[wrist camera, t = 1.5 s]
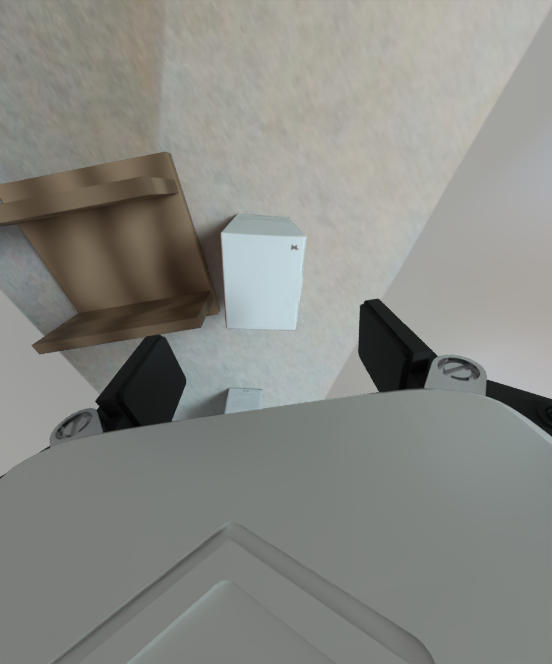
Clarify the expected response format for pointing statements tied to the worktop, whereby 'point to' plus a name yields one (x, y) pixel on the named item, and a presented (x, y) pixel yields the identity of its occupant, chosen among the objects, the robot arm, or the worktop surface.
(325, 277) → the worktop surface
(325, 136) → the worktop surface
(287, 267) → the small box
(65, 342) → the book rack
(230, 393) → the skincare box
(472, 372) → the robot arm
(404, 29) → the worktop surface
